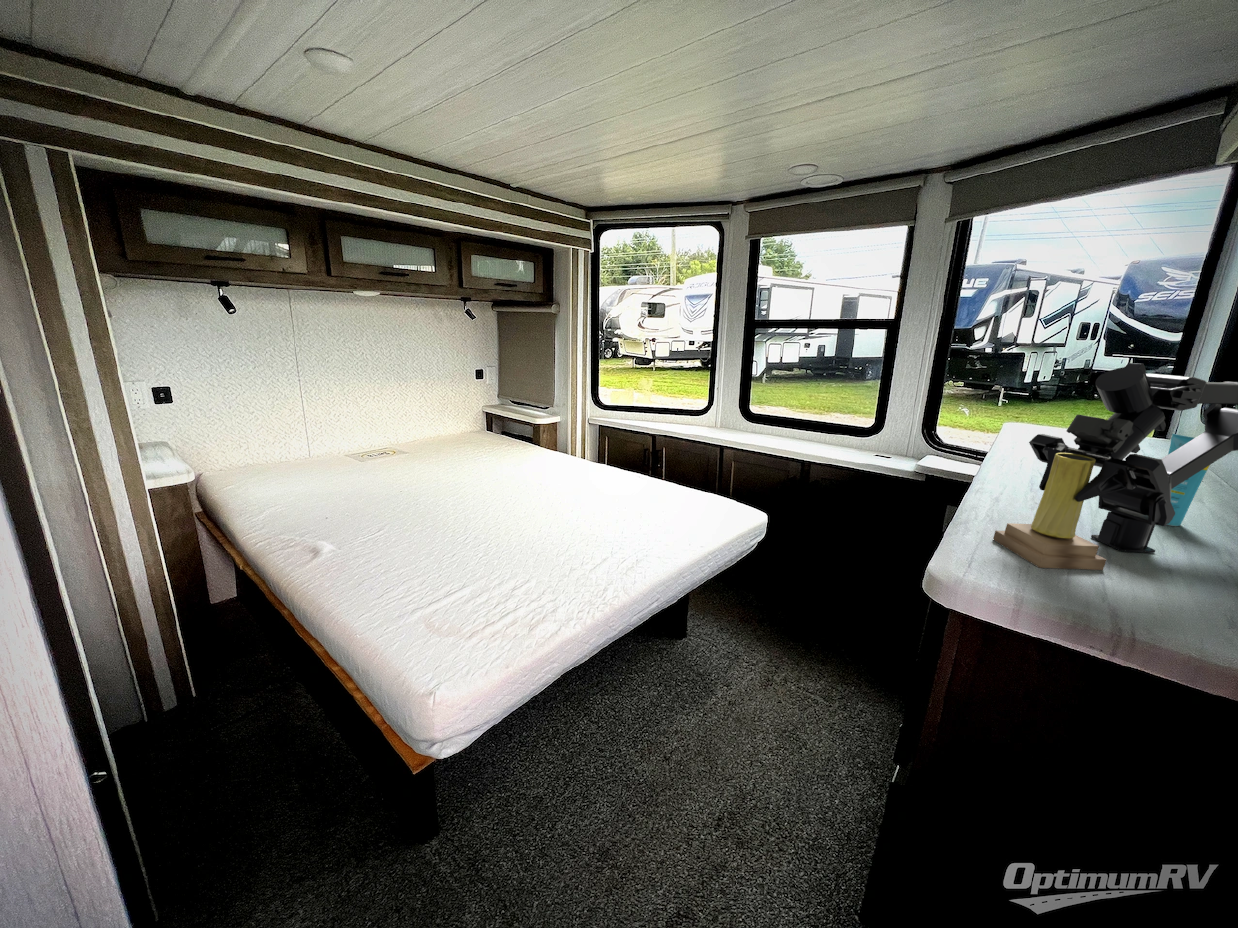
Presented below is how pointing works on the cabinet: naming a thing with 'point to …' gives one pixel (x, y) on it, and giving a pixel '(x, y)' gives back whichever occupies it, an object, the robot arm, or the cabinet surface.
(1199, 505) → the cabinet surface
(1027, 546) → the pedestal
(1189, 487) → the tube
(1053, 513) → the vase
